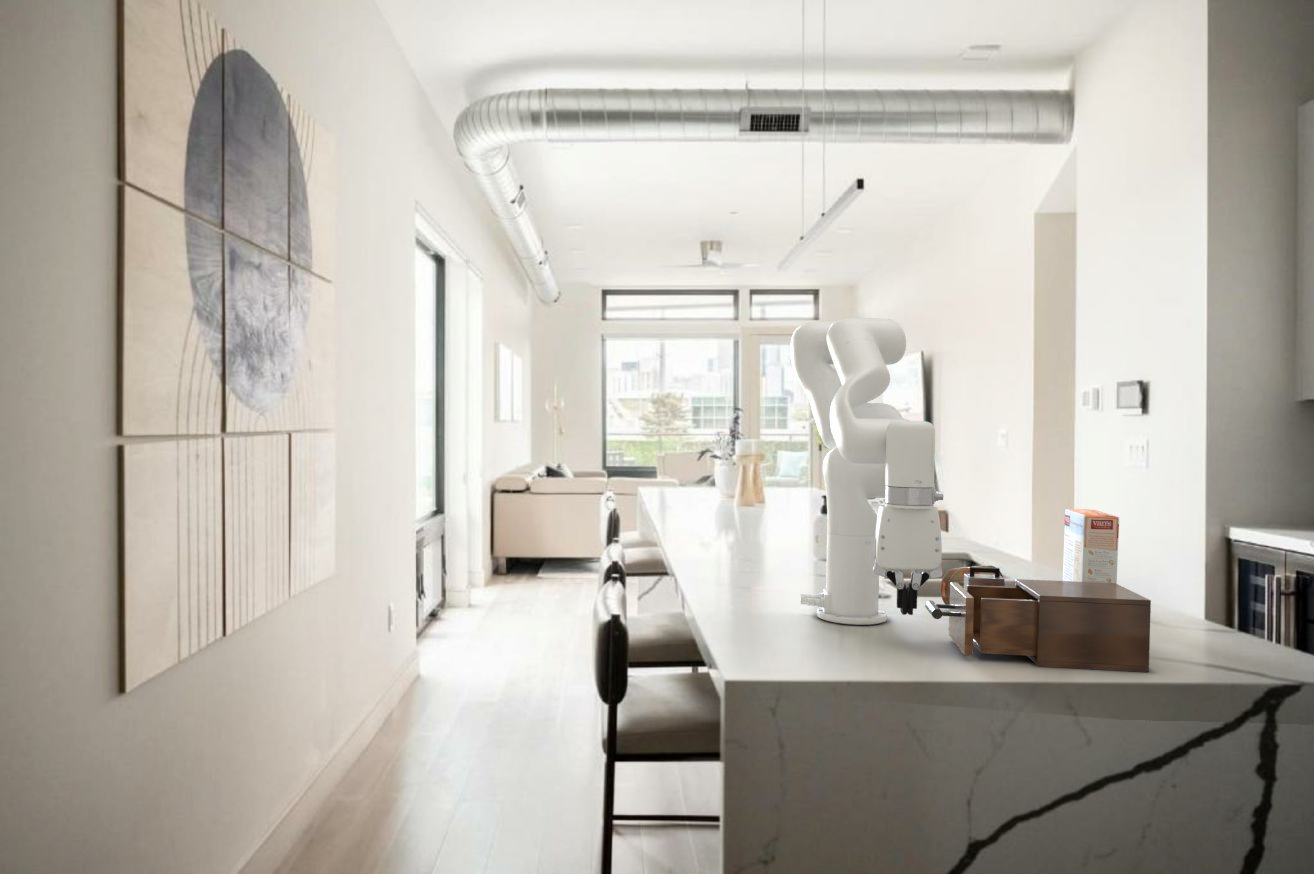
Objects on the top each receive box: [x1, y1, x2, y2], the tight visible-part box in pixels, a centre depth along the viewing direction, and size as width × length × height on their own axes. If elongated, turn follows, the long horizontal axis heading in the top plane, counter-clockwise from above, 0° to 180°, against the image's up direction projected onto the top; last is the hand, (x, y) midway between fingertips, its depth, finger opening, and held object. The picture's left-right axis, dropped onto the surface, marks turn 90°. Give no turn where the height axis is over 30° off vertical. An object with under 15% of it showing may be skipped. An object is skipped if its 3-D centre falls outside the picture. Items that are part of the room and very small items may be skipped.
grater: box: [964, 566, 1006, 590], centre depth 160 cm, size 6×4×11 cm, turn 82°
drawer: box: [924, 582, 1038, 657], centre depth 145 cm, size 19×13×9 cm
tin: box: [940, 565, 1006, 605], centre depth 179 cm, size 15×3×8 cm, turn 117°
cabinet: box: [1014, 578, 1152, 673], centre depth 143 cm, size 16×15×11 cm
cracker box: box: [1062, 508, 1120, 584], centre depth 162 cm, size 14×6×21 cm, turn 168°
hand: (906, 612), depth 146 cm, fingers closed
